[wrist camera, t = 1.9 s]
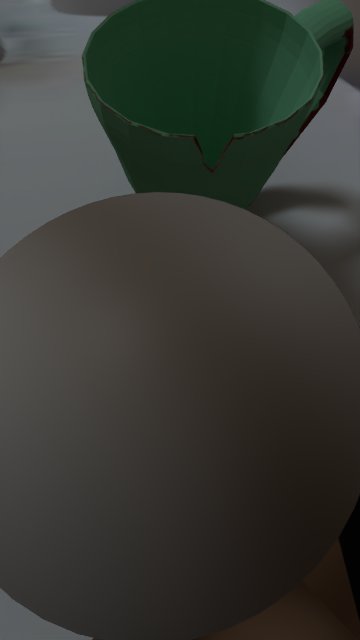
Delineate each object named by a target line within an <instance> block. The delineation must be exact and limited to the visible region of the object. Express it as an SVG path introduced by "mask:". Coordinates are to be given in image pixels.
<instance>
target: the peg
mask: <svg viewBox="0 0 360 640" xmlns="http://www.w3.org/2000/svg"><path fill="white" fill-rule="evenodd" d="M359 495H360V328H359V325H358V323H357V321H356V319H355V317H354V315H353V312H352V310H351V308H350V306H349V304H348V303H347V301H346V299H345V298H344V296H343V294H342V293H341V291H340V290H339V288H338V286H337V285H336V283H335V282H334V281H333V279H332V278H331V277H330V276H329V274H328V273H327V272H326V271H325V269H324V268H323V267H322V265H321V264H320V263H319V262H318V261H317V260H316V259H315V258H314V257H313V256H312V255H311V254H310V253H309V252H308V251H307V250H306V249H305V248H304V247H303V246H302V245H300V244H299V243H298V242H297V241H295V240H294V239H293V238H292V237H290V236H289V235H288V234H287V233H285V232H284V231H283V230H281V229H279V228H278V227H276V226H275V225H273V224H271V223H270V222H268V221H267V220H265V219H263V218H261V217H259V216H257V215H255V214H253V213H251V212H249V211H247V210H245V209H242V208H239V207H237V206H234V205H231V204H228V203H226V202H223V201H219V200H215V199H211V198H207V197H203V196H197V195H190V194H183V193H166V192H151V193H136V194H129V195H123V196H117V197H111V198H108V199H104V200H101V201H97V202H93V203H90V204H87V205H84V206H82V207H79V208H77V209H74V210H72V211H69V212H67V213H65V214H63V215H61V216H59V217H57V218H55V219H53V220H51V221H49V222H47V223H46V224H44V225H43V226H41V227H40V228H38V229H37V230H35V231H33V232H32V233H30V234H29V235H27V236H26V237H25V238H23V239H22V240H21V241H20V242H19V243H17V244H16V245H15V246H14V247H12V248H11V249H10V250H9V251H7V252H6V253H5V254H4V255H3V256H2V257H1V259H0V588H1V589H3V590H4V591H5V592H6V593H7V594H8V595H9V596H10V597H11V598H12V599H13V600H15V601H16V602H18V603H20V604H21V605H23V606H24V607H26V608H27V609H29V610H30V611H32V612H33V613H35V614H36V615H38V616H39V617H41V618H42V619H44V620H47V621H49V622H51V623H54V624H56V625H58V626H61V627H63V628H65V629H67V630H70V631H72V632H74V633H77V634H80V635H85V636H89V637H93V638H97V639H101V640H192V639H196V638H199V637H203V636H206V635H210V634H213V633H217V632H220V631H223V630H226V629H229V628H231V627H233V626H235V625H237V624H239V623H241V622H243V621H245V620H247V619H249V618H251V617H253V616H255V615H258V614H260V613H261V612H263V611H264V610H265V609H267V608H268V607H270V606H271V605H273V604H274V603H275V602H277V601H278V600H280V599H281V598H282V597H284V596H285V595H287V594H288V593H290V592H291V591H292V590H293V589H294V588H295V587H296V586H297V585H298V584H299V583H300V582H301V581H302V580H303V579H304V578H305V577H306V576H307V575H308V574H309V573H310V572H311V571H313V570H314V569H315V568H316V567H317V565H318V564H319V563H320V561H321V560H322V559H323V557H324V556H325V555H326V553H327V552H328V551H329V549H330V548H331V547H332V546H333V544H334V543H335V542H336V540H337V539H338V537H339V536H340V534H341V532H342V530H343V528H344V526H345V525H346V523H347V521H348V519H349V517H350V515H351V514H352V512H353V510H354V508H355V505H356V503H357V500H358V497H359Z"/></svg>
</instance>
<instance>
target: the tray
mask: <svg viewBox="0 0 360 640" xmlns="http://www.w3.org/2000/svg"><path fill="white" fill-rule="evenodd" d="M92 640H101V639H97V638H93V639H92ZM192 640H360V621H359V618H358V614H357V610H356V606H355V602H354V598H353V594H352V590H351V586H350V582H349V579H348V575H347V571H346V567H345V563H344V559H343V555H342V551H341V547H340V543H339V538H338V539H337V540H336V542H335V543H334V544H333V546H332V547H331V548H330V549H329V551H328V552H327V553H326V555H325V556H324V557H323V559H322V560H321V561H320V563H319V564H318V565H317V567H316V568H315V569H314V570H313V571H311V572H310V573H309V574H308V575H307V576H306V577H305V578H304V579H303V580H302V581H301V582H300V583H299V584H298V585H297V586H296V587H295V588H294V589H293V590H292V591H291V592H290V593H288V594H287V595H285V596H284V597H282V598H281V599H280V600H278V601H277V602H275V603H274V604H273V605H271V606H270V607H268V608H267V609H265V610H264V611H263V612H261V613H260V614H258V615H255V616H253V617H251V618H249V619H247V620H245V621H243V622H241V623H239V624H237V625H235V626H233V627H231V628H229V629H226V630H223V631H220V632H217V633H213V634H210V635H206V636H203V637H199V638H196V639H192Z"/></svg>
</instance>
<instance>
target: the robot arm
mask: <svg viewBox="0 0 360 640" xmlns="http://www.w3.org/2000/svg"><path fill="white" fill-rule="evenodd" d="M338 538H339V543H340V547H341V551H342V555H343V559H344V563H345V567H346V571H347V575H348V579H349V582H350V586H351V590H352V594H353V598H354V602H355V606H356V610H357V614H358V618H359V621H360V495H359V497H358V500H357V503H356V505H355V508H354V510H353V512H352V514H351V515H350V517H349V519H348V521H347V523H346V525H345V526H344V528H343V530H342V532H341V534H340V536H339V537H338Z"/></svg>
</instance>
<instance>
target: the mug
mask: <svg viewBox="0 0 360 640" xmlns="http://www.w3.org/2000/svg"><path fill="white" fill-rule="evenodd" d="M353 26H354V24H353V17H352V14H351V12H350V10H349V9H348V7H347V6H346V5H345V4H343V3H342V2H341V1H338V0H323V1H321V2H318V3H316V4H314V5H312V6H310V7H308V8H305V9H303V10H301V11H300V12H299V13H298V14H296V15H295V16H293V15H292V14H291V13H290V12H288V11H286V10H284V9H282V8H280V7H278V6H276V5H274V4H272V3H270V2H268V1H265V0H135V1H133V2H131V3H130V4H128V5H126V6H124V7H122V8H121V9H118V10H117V11H115V12H113V13H111V14H110V15H109V16H108V17H107V18H106V19H105V20H104V21H103V22H102V23H101V24H100V25H99V26H98V27H97V28H96V29H95V30H94V31H93V32H92V33H91V35H90V37H89V40H88V42H87V44H86V47H85V49H84V52H83V54H82V63H83V73H84V81H85V85H86V89H87V92H88V96H89V99H90V101H91V104H92V107H93V109H94V111H95V113H96V115H97V117H98V119H99V121H100V123H101V125H102V127H103V129H104V130H105V132H106V134H107V136H108V138H109V140H110V142H111V144H112V145H113V147H114V149H115V151H116V153H117V156H118V158H119V160H120V163H121V165H122V167H123V170H124V172H125V174H126V176H127V179H128V181H129V183H130V184H131V186H132V188H133V189H134V191H135V192H136V193H151V192H166V193H183V194H190V195H197V196H203V197H207V198H211V199H215V200H219V201H223V202H226V203H228V204H231V205H234V206H237V207H239V208H242V209H245V210H246V208H247V207H248V206H249V205H250V203H251V202H252V201H253V200H254V198H255V197H256V196H257V195H258V193H259V192H260V190H261V189H262V187H263V186H264V185H265V183H266V182H267V180H268V179H269V177H270V176H271V174H272V173H273V171H274V170H275V168H276V167H277V165H278V163H279V162H280V160H281V159H282V157H283V156H284V155H285V154H286V152H287V151H288V150H289V149H290V147H291V146H292V145H293V143H294V142H295V141H296V140H297V138H298V137H299V136H300V134H301V133H302V132H303V131H304V129H305V128H306V127H307V126H308V124H309V123H310V122H311V120H312V119H313V118H314V117H315V115H316V114H317V113H318V111H319V110H320V109H321V108H322V106H323V105H324V104H325V103H326V101H327V99H328V97H329V95H330V93H331V91H332V89H333V87H334V85H335V83H336V81H337V79H338V77H339V75H340V73H341V71H342V69H343V67H344V65H345V63H346V61H347V59H348V57H349V55H350V53H351V51H352V48H353Z"/></svg>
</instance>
